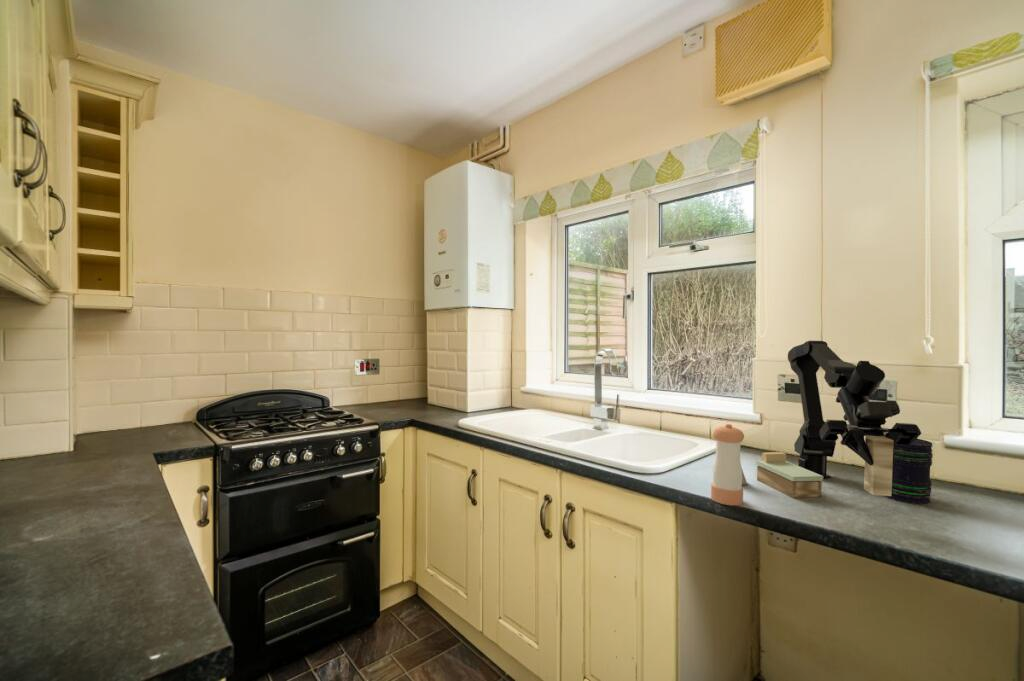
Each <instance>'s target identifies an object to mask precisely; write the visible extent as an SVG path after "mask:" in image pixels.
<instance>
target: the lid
mask: <svg viewBox="0 0 1024 681" xmlns="http://www.w3.org/2000/svg"><path fill="white" fill-rule="evenodd" d="M761 457H762V459H761V460H755V463H756V466H760V467H762V468H765V469H767V470H769V471H771V472H773V473H776V474H778V475H780V476H782V477H784V478H786V479H789V480H791V481H793V482H794V481H821V482H823V481H824V478H823V476H822V475H819V474H817V473H814V472H812V471H809V470H807V469H805V468H802V467H800V466H798V465H797V464H794V463H792V462H790V461H787V453H784V452H783V451H782V452H781V451H779V452H775V451H773V452H772V451H771V452H762V456H761Z"/></svg>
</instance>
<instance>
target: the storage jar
mask: <svg viewBox="0 0 1024 681" xmlns="http://www.w3.org/2000/svg"><path fill="white" fill-rule="evenodd" d="M931 466H933V443H932V442H931V441H929V440H925V439H921V438H917V439H916V440H915V441H914V442H913V443H912V444H911V445H909V446H899V445H895V451H894V465H893V467H892V493H891V496H884V497H886V498H887V499H890V500H893V501H895V502H901V503H906V504H911V505H918V504H919V506H921V505H920V504H926V505H929V504H930V503H931V499H930V498H931V494H932V480H931ZM928 503H929V504H928Z"/></svg>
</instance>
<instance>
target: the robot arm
mask: <svg viewBox="0 0 1024 681" xmlns="http://www.w3.org/2000/svg"><path fill="white" fill-rule="evenodd" d="M787 360H788V362H789V367H790V368H791V370H792V371H793V372H794V374H796V375H797V378H798V384H799V385H798V386H799V391H800V399H801V400H800V401H801V407H802V413H803V423H802V425H801V427H800V429H799V436H798V437H797V439H796V440H795V442H794V452H795V453H798V454H799V458H798V465H797V466H800V467H802V468H805V469H807V470H809V471H812V472H814V473H817V474H819V475H822V476H823V479H824V478H826V479H827V478H831V475H830V474H828V473H827V468H828V466H827V463H828V457H830V458H833V456H834V453H835V450H836V444H837V443H836V442H837V441H838V439H839V435H840V436H841V438H842V439H841V440H840V445H842V446H845V447H848V449H850V450H851V451H852V452H854V453H855V454H856V455H858V456H859V457H860V458H861V459H862V460H863V461H864V462H865V461H866V462H867V463H868V464H869V465H873V459H872V456H871V454H870V451H869V449H868V447H867V445H866V442H865V437H866V436H883V437H886V438H889V439H891V440H893V442H894V447H893V465H894V451H895V445H899V446H909V445H911V444H912V443H913V442H914V441H915V440H916V439H919V437H920V436H921V434H922V431H921V429H920V427H919V426H918V425H917V424H916V423H915V424H914V423H910V422H909V423H905V422H903V423H902V422H895V424H894V425H893V426H892V427H891V428H889V427H882V425H883V426H884V425H886V423H887V420H886V419H887V418H893V416H894V417H895V416H898V415H899V414H900V413H901V409H900V405H899V404H898V402H897V401H896V400H886V401H871V400H870V399H869V396H872V395H874V394H875V392H876V391H877V389H878V388H879V386H880V385H881V383H882V382H883V381H884V380H885V377H886V374H885V371H884V370H882V369H881V368H879V367H878V366H876V365H875V364H871V363H870V361H869V360H859V361H858V362H857V364H854V363H853V362H852V363H851V362H847V361H844V360H843V359H841V358H840V357H839V356H838V355H837V353H835V352H834V351H833V350H832V349H831V347H829V345H828V343H827V341H824V340H808V341H805V342H804V343H803V344H799V345H795V346H793V347H792V348H791V349H790V350H789V351H788V352H787ZM820 368H821V369H822V370H823V371H824V372H825V373H824V377H823V379H824V381H825V382H826V383H827V385H828V386H829V388H833V389H835V388H836V389H839V390H838V392H837V396H836V399H835V402H836V403H838V404H841V407H842V410H843V413H844V415H843V419H826V420H824V416H823V409H822V404H821V403H822V401H821V396H820V390H819V385H818V384H819V382H818V376H817V373H818V371H819V370H820ZM892 467H893V466H892Z"/></svg>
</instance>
